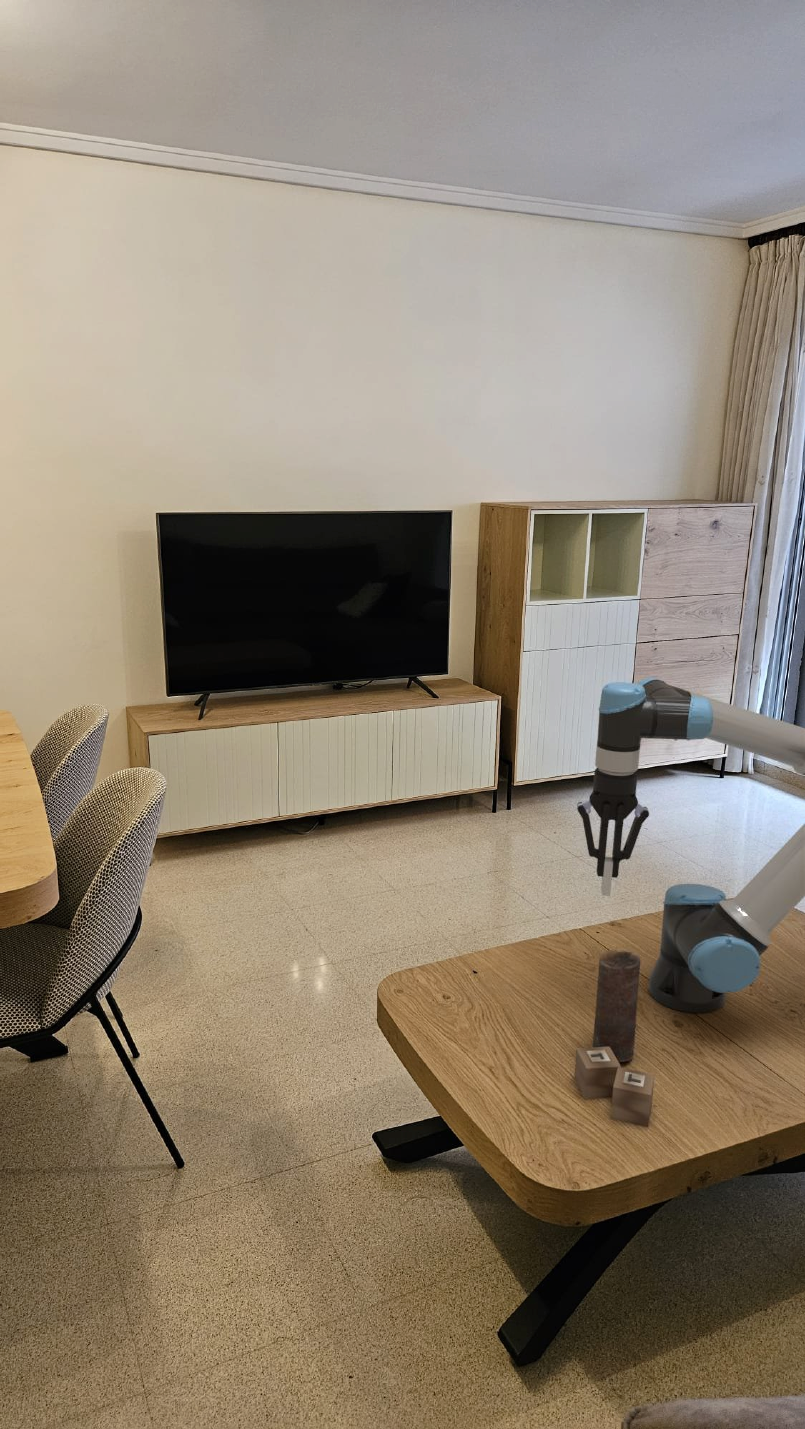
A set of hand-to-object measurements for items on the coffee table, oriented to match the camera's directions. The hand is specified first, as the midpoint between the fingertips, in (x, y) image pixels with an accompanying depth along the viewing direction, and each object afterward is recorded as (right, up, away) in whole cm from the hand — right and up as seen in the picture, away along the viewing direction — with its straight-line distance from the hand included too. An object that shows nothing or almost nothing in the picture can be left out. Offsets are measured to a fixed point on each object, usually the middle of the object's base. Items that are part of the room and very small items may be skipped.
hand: (605, 892), depth 181 cm
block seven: (+1, -33, -17) cm, 38 cm away
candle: (+1, -30, -1) cm, 30 cm away
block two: (-4, -32, -11) cm, 34 cm away
